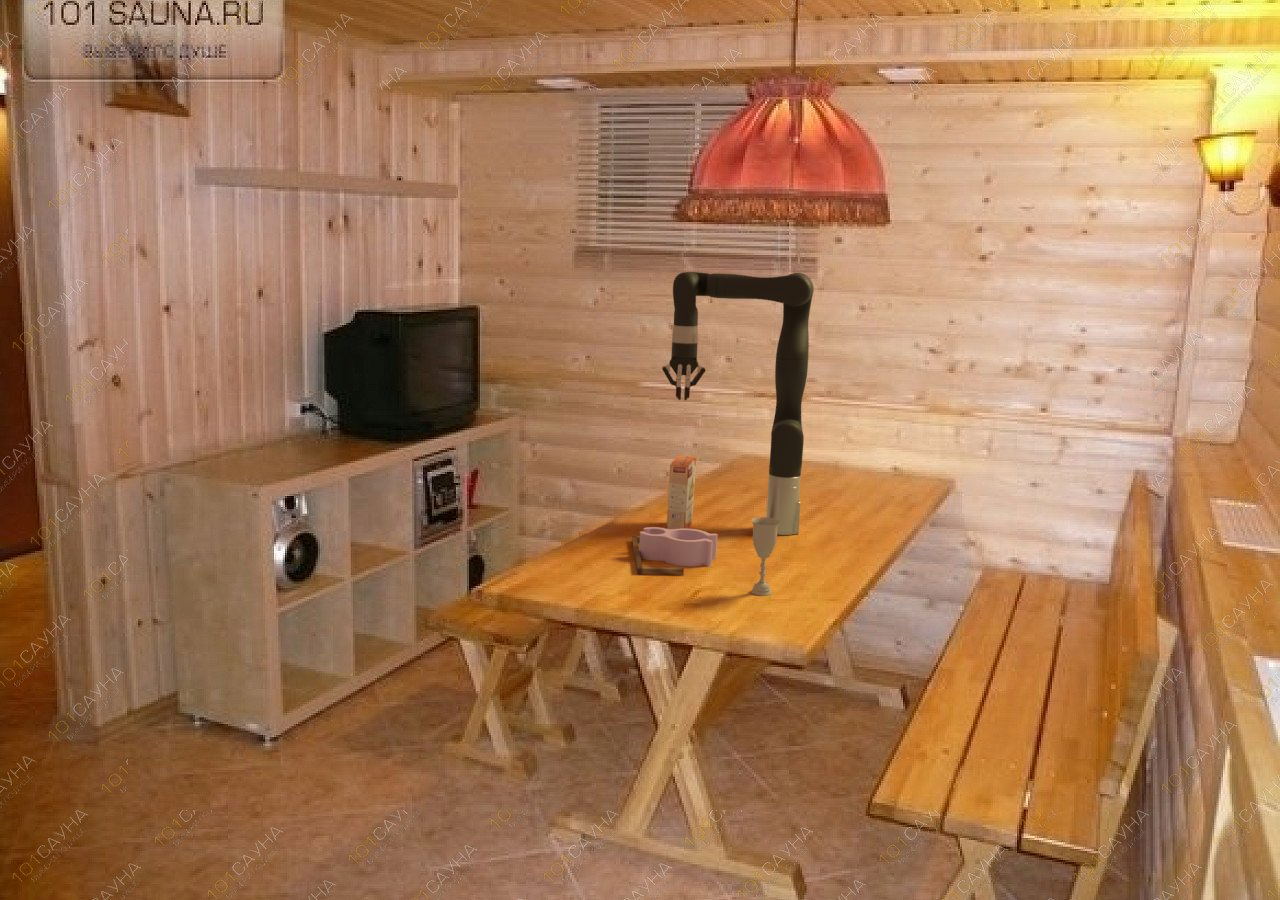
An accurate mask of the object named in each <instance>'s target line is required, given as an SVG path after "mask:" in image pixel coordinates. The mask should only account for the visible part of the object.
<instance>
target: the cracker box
mask: <svg viewBox="0 0 1280 900" xmlns="http://www.w3.org/2000/svg"><path fill="white" fill-rule="evenodd" d="M696 465H697V457H696V456H692V455H691V456H689V455H677V456H676V457H675V458H674V459H673V461H672V462H671V463H670V464H669V475H668V476H669V477H668V479H669V480H668V497H667V498H668V500H667V513H666V514H667V517H666V529H691V527H692V525H693V513H694V512H693V511H694V495H695V482H696V480H695V479H696V468H697V467H696Z"/></svg>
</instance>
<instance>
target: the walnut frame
mask: <svg viewBox="0 0 1280 900" xmlns="http://www.w3.org/2000/svg"><path fill="white" fill-rule="evenodd" d="M631 537H632V538H631V541H632V542H631V544H632V547H633V548H632V549H633V553H634V559H635V561H634V562H635V565H636V572H637V575H644V576H645V575H649V576H650V575H656V576H660V575H661V576H684V572H685V569H684V567H648V566H647V567H643V563H642V558H641V557H640V552H639V547H640V545H639V544H640V535H637V536H636V535H633V536H631Z"/></svg>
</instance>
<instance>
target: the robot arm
mask: <svg viewBox="0 0 1280 900" xmlns="http://www.w3.org/2000/svg"><path fill="white" fill-rule="evenodd" d="M814 289H815V288H814V283H813V281H812V280H811V278H810V277H809V275H808V274H805V273H801V272H793V273H790V274H788V275H781V276H773V277H771V276H768V277H767V276H765V277H763V276H762V277H761V276H752V275H751V276H750V275H744V274H736V273H719V272H718V273H706V272H699V271H698V272H697V271H684V272H680V273H678V274H677V275H676V276H675V278H674V280H673V284H672V296H673V299H672V301H673V307H674V310H673V312H674V313H673V327H672V331H671V332H672V337H671V355H670V356H671V357H670V358H671V359H670V360H669V363H668V364H666V365H663V366H662V367H661V369H662V371H663V373H664V375H665V377H666V378H667V380H668V382H669V383H670V385H671V386H675V397H676V398H677V400H678V401H681V400H682V386H681V384H682V383H681V382H682V376H684V377H685V379H684V381H685V383H684V384H685V386H684V389H683V390H684V391H683V393H684V394H683V400H684V401H688V399H689V398H690V394H691V393H690V391H691V387H693V386H694V387H695V386H696V385H697V384H698V382H699V381H700V379H701V378H702V376H703V375H704V374H705V372H706V371H707V370H706V368H705V367H704V366H701V365H700V364H699V362H698V344H699V329H698V323H699V322H698V321H699V310H698V308H697V297H709V298H712V299H713V298H714V299H729V300H733V299H734V300H739V299H740V300H763V301H771V302H776V303H780V304H782V307H783V308H782V309H783V310H782V311H783V314H782V315H783V318H782V325H781V330H780V334H779V338H778V342H777V347H776V353H775V365H774V366H775V368H774V369H775V372H774V373H775V374H774V379H775V381H774V382H775V395H776V396H775V397H776V402H775V409H774V411H775V412H774V418H773V423H772V424H773V425H772V427H771V428H772V429H771V433H770V436H771V438H770V452H769V454H770V455H769V464H768V465H769V466H768V467H769V468H768V483H767V485H768V486H767V498H766V499H767V500H766V515H765V516H766V517H768V518H773V519H777V520H779V521H780V523H779V525H778V528H777V536H778V535H779V536H790V535H798V534H799V532H800V518H801V517H800V514H801V501H800V488H801V487H800V486H801V474H802V468H803V467H802V465H803V455H804V454H803V453H804V452H803V451H804V440H805V439H804V437H805V435H804V431H803V424H802V423H803V422H802V404H803V403H802V402H803V395H804V393H805V392H804V391H805V389H806V388H805V387H806V384H807V383H806V382H807V377H808V368H809V350H810V349H809V347H810V346H809V345H810V342H809V340H810V339H809V319H810V312H811V306H812V301H813V295H814ZM671 368H672V371H673V372H674V373H675V374H676V375H675V380H674V379H673V377H672V375H671ZM695 370H696V372H697V373H696V375H694V377H693V378H692V380H691V375H692V374H693V373H694V372H695Z"/></svg>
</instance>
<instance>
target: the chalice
mask: <svg viewBox="0 0 1280 900" xmlns="http://www.w3.org/2000/svg"><path fill="white" fill-rule="evenodd" d="M751 522H752V525H753V526H752V542H753V546H754V549H755V552H756V554H757V557H758V558H760V560H761V562H760V565H759V567H760V571H759V572H758V573H759V575H760V578H759V580H758V581H757V582H755V583H754V585H753V587H752V589H751V591H750V592H751V594H753V595H756V596H762V597H763V596H765V597H766V596H771V595H772V590H771V587H770V584H769V582H766V580H765V575H767V572H766V571H765V570H766V567H767V565H766V560H767V559H769V558H770V556H771V554H772V553H773V552H774V549H775V547H776V544H777V541H778V534H777V528H778V525H779V523H780V521H779V520H777V519H773V518H768V517H765V516H762V517H760V516H759V517H754V518H752V519H751Z"/></svg>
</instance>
